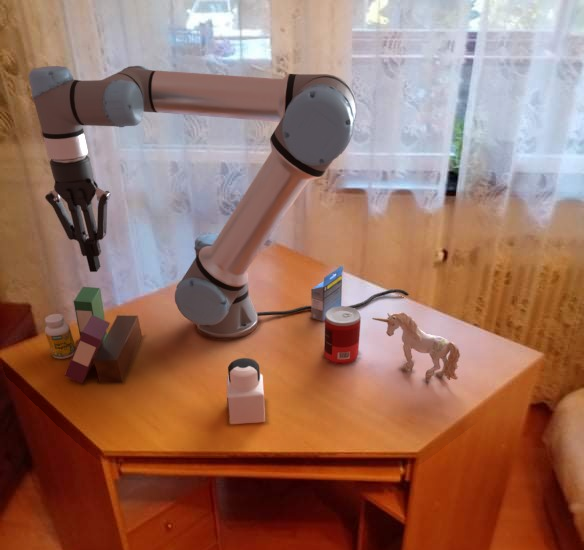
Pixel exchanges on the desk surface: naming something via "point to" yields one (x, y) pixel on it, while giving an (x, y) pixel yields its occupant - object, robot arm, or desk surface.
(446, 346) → the unicorn figurine
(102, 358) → the walnut block
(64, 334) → the supplement bottle
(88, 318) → the green tea box
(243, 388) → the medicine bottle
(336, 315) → the canned food
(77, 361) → the plum tea box
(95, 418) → the desk surface
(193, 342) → the desk surface
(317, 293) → the tape cartridge
